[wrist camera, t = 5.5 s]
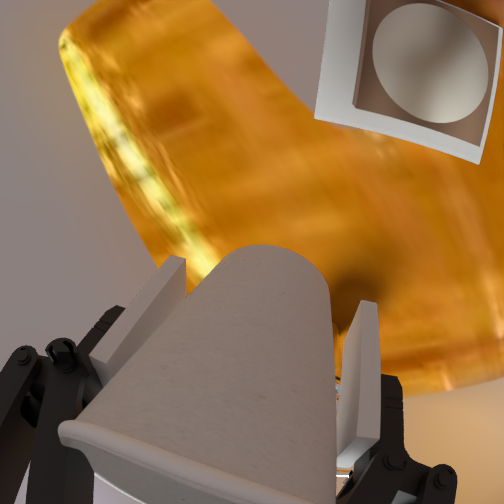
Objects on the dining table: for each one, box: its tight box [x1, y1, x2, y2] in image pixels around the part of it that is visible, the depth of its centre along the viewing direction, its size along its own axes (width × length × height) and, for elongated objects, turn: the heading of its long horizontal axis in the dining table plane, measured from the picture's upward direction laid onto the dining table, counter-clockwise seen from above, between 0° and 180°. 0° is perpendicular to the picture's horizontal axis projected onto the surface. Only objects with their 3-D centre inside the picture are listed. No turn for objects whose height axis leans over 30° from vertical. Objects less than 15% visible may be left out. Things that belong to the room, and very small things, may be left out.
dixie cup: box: [58, 245, 337, 504], centre depth 11 cm, size 8×8×10 cm
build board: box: [314, 0, 503, 165], centre depth 21 cm, size 16×14×2 cm
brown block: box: [352, 0, 499, 147], centre depth 18 cm, size 10×10×5 cm
